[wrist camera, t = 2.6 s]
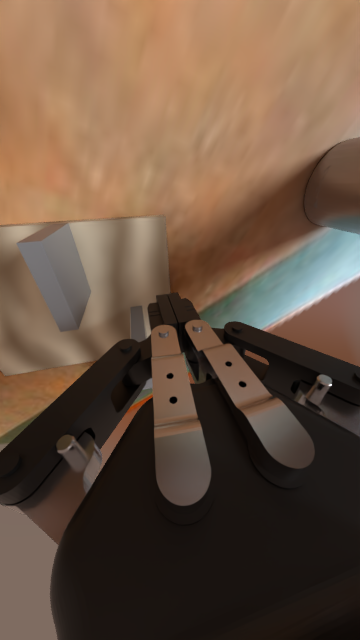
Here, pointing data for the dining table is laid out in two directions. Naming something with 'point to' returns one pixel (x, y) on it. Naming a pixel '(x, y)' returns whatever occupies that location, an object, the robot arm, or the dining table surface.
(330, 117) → the dining table surface
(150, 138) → the dining table surface
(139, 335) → the slate tile
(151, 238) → the white flat sheet
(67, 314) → the slate tile
